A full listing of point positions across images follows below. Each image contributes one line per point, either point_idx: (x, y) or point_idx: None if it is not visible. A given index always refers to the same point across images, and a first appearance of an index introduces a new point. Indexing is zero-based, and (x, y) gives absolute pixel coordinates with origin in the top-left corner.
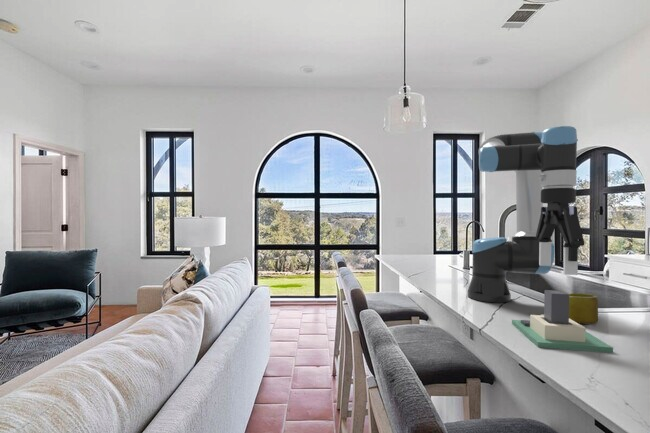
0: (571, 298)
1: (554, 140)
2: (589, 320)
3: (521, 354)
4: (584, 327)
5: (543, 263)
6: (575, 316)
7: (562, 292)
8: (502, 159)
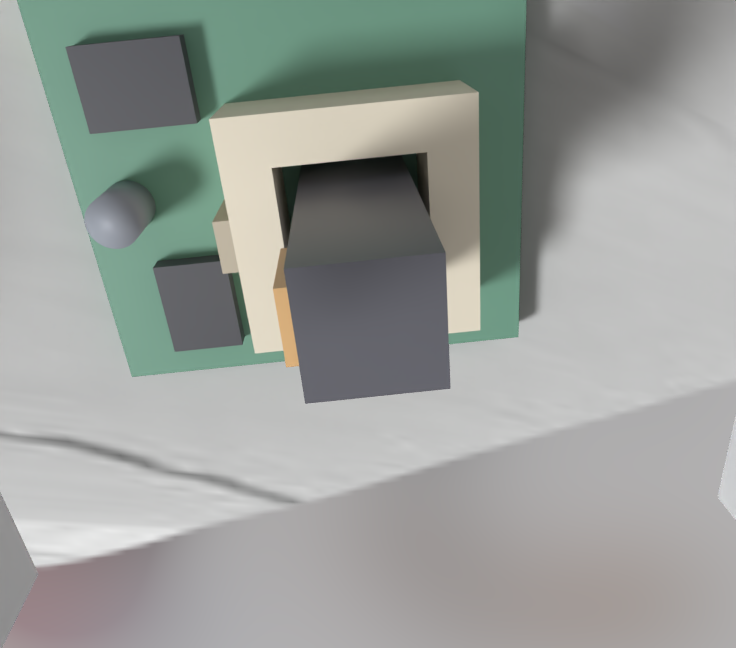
0: None
1: None
2: None
3: (614, 407)
4: (469, 96)
5: (5, 570)
6: None
7: (370, 284)
8: None
